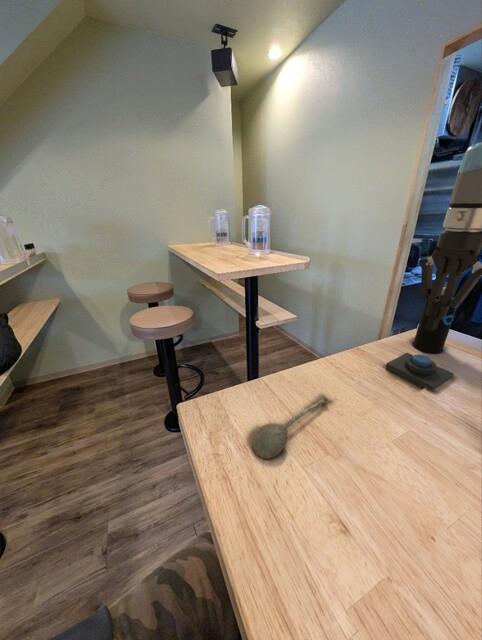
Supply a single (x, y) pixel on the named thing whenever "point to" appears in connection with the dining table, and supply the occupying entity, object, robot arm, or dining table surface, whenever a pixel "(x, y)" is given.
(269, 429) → the soupspoon
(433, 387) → the button housing
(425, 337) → the aerosol can
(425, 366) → the push top
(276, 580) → the dining table surface
